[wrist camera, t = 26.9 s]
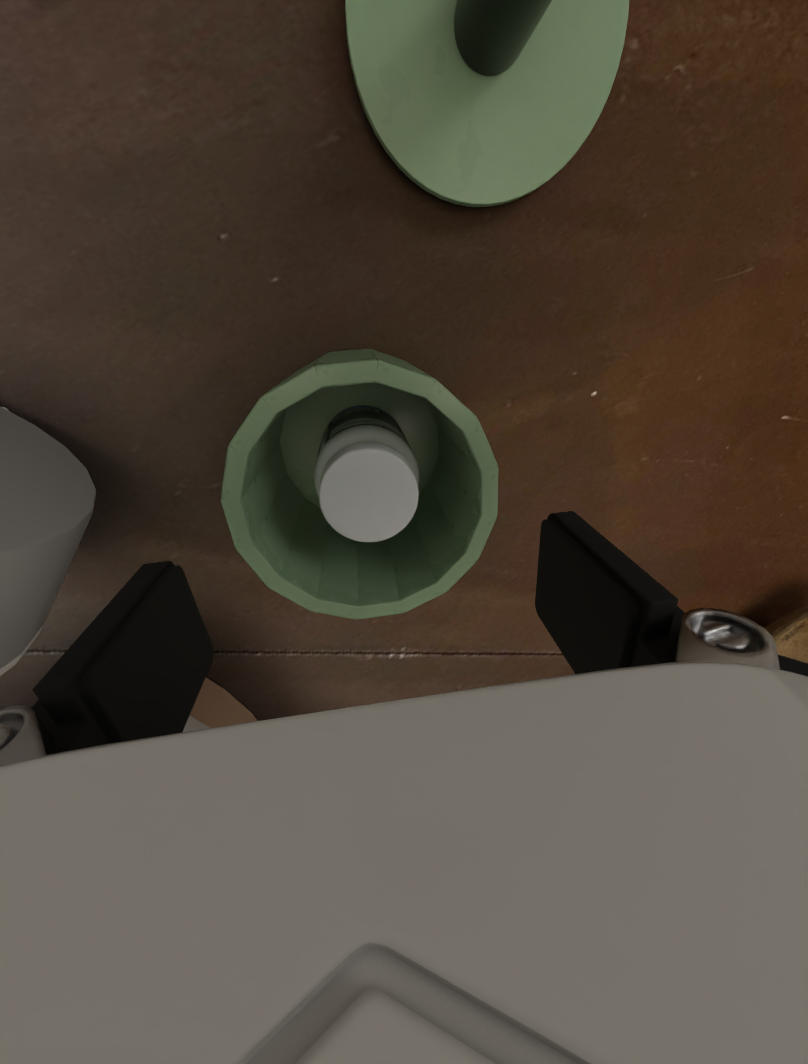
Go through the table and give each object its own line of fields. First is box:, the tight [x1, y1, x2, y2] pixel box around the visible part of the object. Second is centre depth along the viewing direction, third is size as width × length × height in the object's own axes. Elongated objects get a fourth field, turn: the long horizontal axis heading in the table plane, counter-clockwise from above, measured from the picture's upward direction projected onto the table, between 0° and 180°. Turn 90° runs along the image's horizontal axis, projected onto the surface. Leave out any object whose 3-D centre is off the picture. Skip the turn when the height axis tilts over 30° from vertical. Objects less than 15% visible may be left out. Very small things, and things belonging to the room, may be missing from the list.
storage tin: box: [221, 348, 498, 619], centre depth 20 cm, size 10×10×10 cm
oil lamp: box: [765, 606, 808, 663], centre depth 32 cm, size 11×15×8 cm
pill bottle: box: [314, 405, 419, 542], centre depth 20 cm, size 5×5×8 cm
